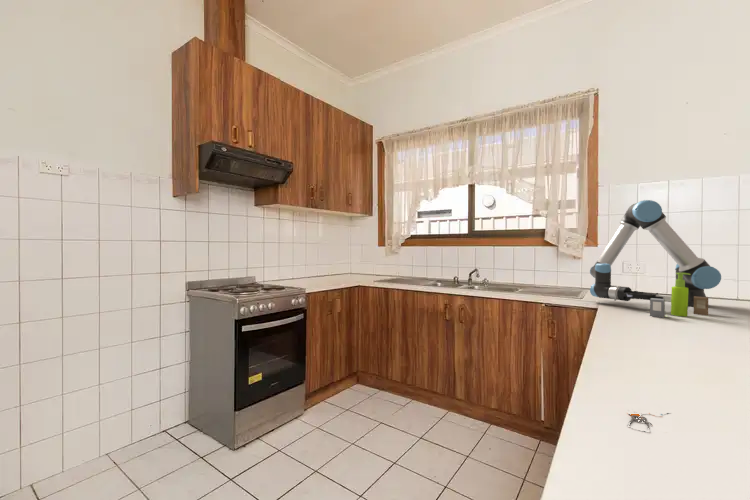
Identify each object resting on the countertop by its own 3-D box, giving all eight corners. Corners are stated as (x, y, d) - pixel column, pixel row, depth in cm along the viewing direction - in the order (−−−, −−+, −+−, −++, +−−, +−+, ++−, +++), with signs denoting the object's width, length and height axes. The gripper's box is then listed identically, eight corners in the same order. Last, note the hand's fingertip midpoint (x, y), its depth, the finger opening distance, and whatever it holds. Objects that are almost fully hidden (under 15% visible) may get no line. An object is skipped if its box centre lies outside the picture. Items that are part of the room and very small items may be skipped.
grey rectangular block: (650, 314, 164) (650, 298, 164) (664, 316, 161) (664, 299, 161) (650, 316, 161) (650, 299, 161) (664, 317, 157) (664, 300, 157)
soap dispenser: (693, 316, 160) (694, 273, 159) (677, 316, 160) (679, 273, 159) (682, 313, 166) (683, 272, 165) (667, 313, 166) (669, 272, 165)
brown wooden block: (693, 312, 170) (693, 296, 170) (707, 313, 166) (707, 297, 166) (693, 314, 166) (693, 297, 166) (708, 315, 162) (708, 298, 162)
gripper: (628, 299, 190) (680, 306, 168) (612, 301, 185) (663, 308, 163) (628, 285, 190) (680, 290, 168) (612, 287, 185) (663, 292, 163)
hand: (672, 299), depth 166 cm, fingers closed
